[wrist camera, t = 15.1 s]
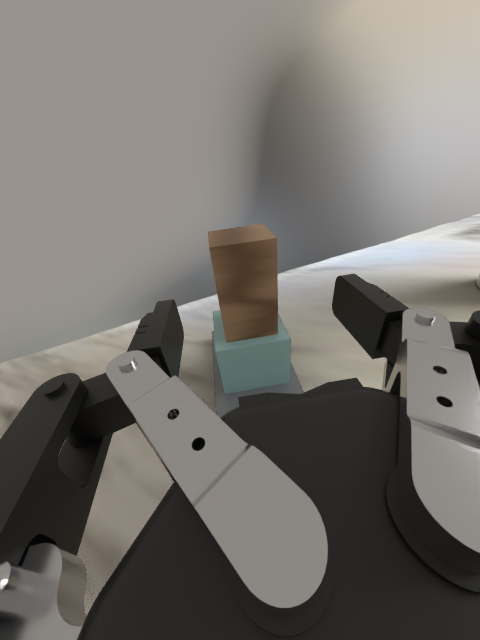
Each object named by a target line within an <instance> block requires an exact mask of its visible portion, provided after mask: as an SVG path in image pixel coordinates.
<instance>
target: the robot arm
mask: <svg viewBox="0 0 480 640" xmlns="http://www.w3.org/2000/svg"><path fill="white" fill-rule="evenodd" d="M476 285H477V286H478V287H479V288H480V275H479V277H478V279H477V281H476ZM332 309H333V313H334V315H335V316H336V317H337V319H338V320H339V321H340V322H341V323H342V324H343V326H344V327H345V328H346V329H347V330H348V331H349V332H350V334H351V335H352V336H353V337H354V338H355V339H356V340H357V342H358V343H359V344H360V345H361V346H362V347H363V349H364V350H365V351H366V352H367V353H368V354H369V355H370V357H371V358H372V359H375V358H382V357H386V358H387V360H386V363H385V366H384V375H383V385H382V390H379V389H375V388H369V387H363V386H362V384H361V383H360V382H359V380H358V379H357V378H352V379H346V380H340V381H334V382H328V383H326V384H323V385H321V386H319V387H316V388H314V389H312V390H309V391H307V392H305V393H302V394H290V393H271V392H267V393H260V394H254V395H248V396H242V397H238V400H239V407H237V408H235V409H233V410H231V411H229V412H228V413H226V414H225V415H223V416H222V417H221V418H219V417H218V416H217V415H216V414H215V413H214V412H213V411H212V410H211V409H210V408H209V407H208V406H207V405H206V404H205V403H204V402H203V401H202V400H201V399H200V398H199V397H198V396H197V395H196V394H194V393H193V392H192V391H191V390H190V389H189V388H188V387H187V386H186V385H185V384H184V383H183V382H182V381H181V380H180V379H179V378H178V376H179V368H180V361H181V354H182V347H183V340H184V332H183V326H182V323H181V320H180V316H179V313H178V309H177V306H176V303H175V301H174V300H173V299H172V300H166V301H158V302H157V304H156V306H155V309H154V312H153V313H148V314H147V315H146V316H144V317H143V318H142V319H141V321H140V323H139V325H138V328H137V330H136V332H135V333H136V334H135V335H134V337H133V339H132V341H131V344H130V346H129V348H128V350H127V352H126V353H123V354H121V355H119V356H118V357H116V358H115V359H113V360H112V361H111V362H110V363H109V365H108V366H107V369H106V373H104V374H101V375H99V376H96V377H93V378H90V379H88V380H85V381H82V380H81V379H80V377H79V376H78V375H76V374H73V373H67V374H62V375H59V376H56V377H54V378H52V379H50V380H48V381H47V382H45V383H44V384H42V385H41V386H40V387H39V388H37V389H36V390H35V392H34V393H33V394H32V395H31V397H30V398H29V400H28V401H27V403H26V404H25V405H24V407H23V408H22V410H21V411H20V412H19V414H18V415H17V417H16V418H15V420H14V421H13V422H12V424H11V425H10V427H9V428H8V429H7V431H6V432H5V434H4V435H3V437H2V438H1V439H0V640H480V311H476V312H474V313H473V314H472V316H471V317H470V319H469V321H468V322H449V320H448V319H447V318H446V317H445V316H443V315H442V314H440V313H438V312H435V311H432V310H428V309H422V308H411V309H409V308H408V307H406V306H405V305H403V304H402V303H401V302H399V301H398V300H396V299H395V298H393V297H392V296H391V297H390V295H389V294H388V293H386V292H384V291H383V290H382V289H380V288H379V287H377V286H376V285H373V284H370V283H368V282H366V281H364V280H363V279H362V278H360V277H359V276H357V275H356V274H349V275H342V276H338V277H337V279H336V282H335V289H334V295H333V302H332ZM134 423H136V424H137V425H138V427H139V428H140V430H141V431H142V433H143V434H144V436H145V438H146V439H147V441H148V442H149V444H150V445H151V447H152V448H153V450H154V452H155V453H156V455H157V456H158V458H159V459H160V461H161V463H162V464H163V466H164V467H165V469H166V471H167V472H168V474H169V475H170V477H171V478H172V480H173V482H174V483H173V484H172V486H171V487H170V489H169V490H168V492H167V493H166V495H165V496H164V498H163V499H162V501H161V502H160V504H159V505H158V507H157V508H156V510H155V511H154V513H153V514H152V516H151V517H150V518H149V520H148V521H147V523H146V524H145V526H144V527H143V529H142V530H141V532H140V533H139V535H138V536H137V538H136V539H135V541H134V542H133V544H132V545H131V547H130V548H129V550H128V551H127V553H126V554H125V556H124V557H123V559H122V560H121V562H120V563H119V565H118V566H117V568H116V569H115V571H114V572H113V574H112V575H111V577H110V578H109V580H108V581H107V583H106V584H105V586H104V587H103V589H102V590H101V592H100V593H99V595H98V596H97V598H96V600H95V602H94V603H93V605H92V607H91V609H90V611H89V613H88V615H87V617H86V614H85V609H84V594H85V587H86V580H87V573H86V567H85V564H84V562H83V561H82V560H81V559H80V558H79V557H77V553H78V550H79V546H80V543H81V540H82V536H83V533H84V529H85V526H86V523H87V519H88V516H89V512H90V509H91V506H92V502H93V499H94V495H95V492H96V489H97V485H98V482H99V479H100V475H101V472H102V468H103V465H104V462H105V458H106V455H107V451H108V448H109V445H110V441H111V438H112V434H113V433H114V432H116V431H118V430H120V429H123V428H125V427H127V426H129V425H131V424H134ZM65 439H66V441H65ZM64 441H65V443H64ZM63 443H64V445H63ZM62 445H63V447H62ZM61 448H62V449H61ZM60 450H61V451H60ZM59 452H60V454H59ZM58 455H59V456H58Z"/></svg>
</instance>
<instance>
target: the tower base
mask: <svg viewBox="0 0 480 640" xmlns="http://www.w3.org/2000/svg"><path fill="white" fill-rule="evenodd" d="M213 320H214V331H212V337H213V357H214V377H215V397H216V415H217V416H218V417H219V418H221V417H222V416H223V415H225V414H226V413H228V412H229V411H231V410H233V409H235V408H237V407H239V400H238V397H242V396H248V395H254V394H260V393H267V392H271V393H290V394H302V393H304V392H303V389H302V387H301V385H300V383H299V380H298V378H297V376H296V374H295V371H294V369H293V367H292V364H291V362H290V353H291V338H290V336H289V334H288V332H287V330H286V328H285V327H284V325H283V323H282V321H281V319H280V317H279V315H278V334H276V335H270V336H264V337H258V338H252V339H246V340H240V341H234V342H228V343H226V338H225V332H224V327H223V321H222V316H221V310H220V311H213Z"/></svg>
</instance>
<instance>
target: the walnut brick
mask: <svg viewBox="0 0 480 640" xmlns="http://www.w3.org/2000/svg"><path fill="white" fill-rule="evenodd" d="M208 238H209V248H210V254H211V260H212V266H213V271H214V277H215V282H216V288H217V293H218V299H219V305H220V310H221V316H222V321H223V327H224V332H225V338H226V343H228V342H234V341H240V340H246V339H252V338H258V337H264V336H270V335H276V334H278V288H277V238H276V237H275V236H274V235H273V234H272V233H271V232H270V231H269V230H268V229H267V228H266V227H265V226H264V225H263V224H259V225H252V226H244V227H238V228H230V229H223V230H217V231H209V232H208Z"/></svg>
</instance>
